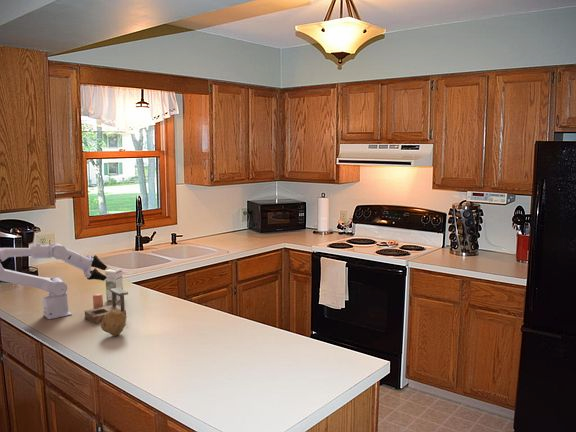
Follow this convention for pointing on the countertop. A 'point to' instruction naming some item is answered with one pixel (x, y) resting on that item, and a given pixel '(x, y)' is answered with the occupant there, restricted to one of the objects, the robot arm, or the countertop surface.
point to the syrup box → (113, 282)
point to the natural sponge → (113, 322)
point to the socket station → (107, 307)
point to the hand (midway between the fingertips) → (105, 273)
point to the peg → (97, 301)
